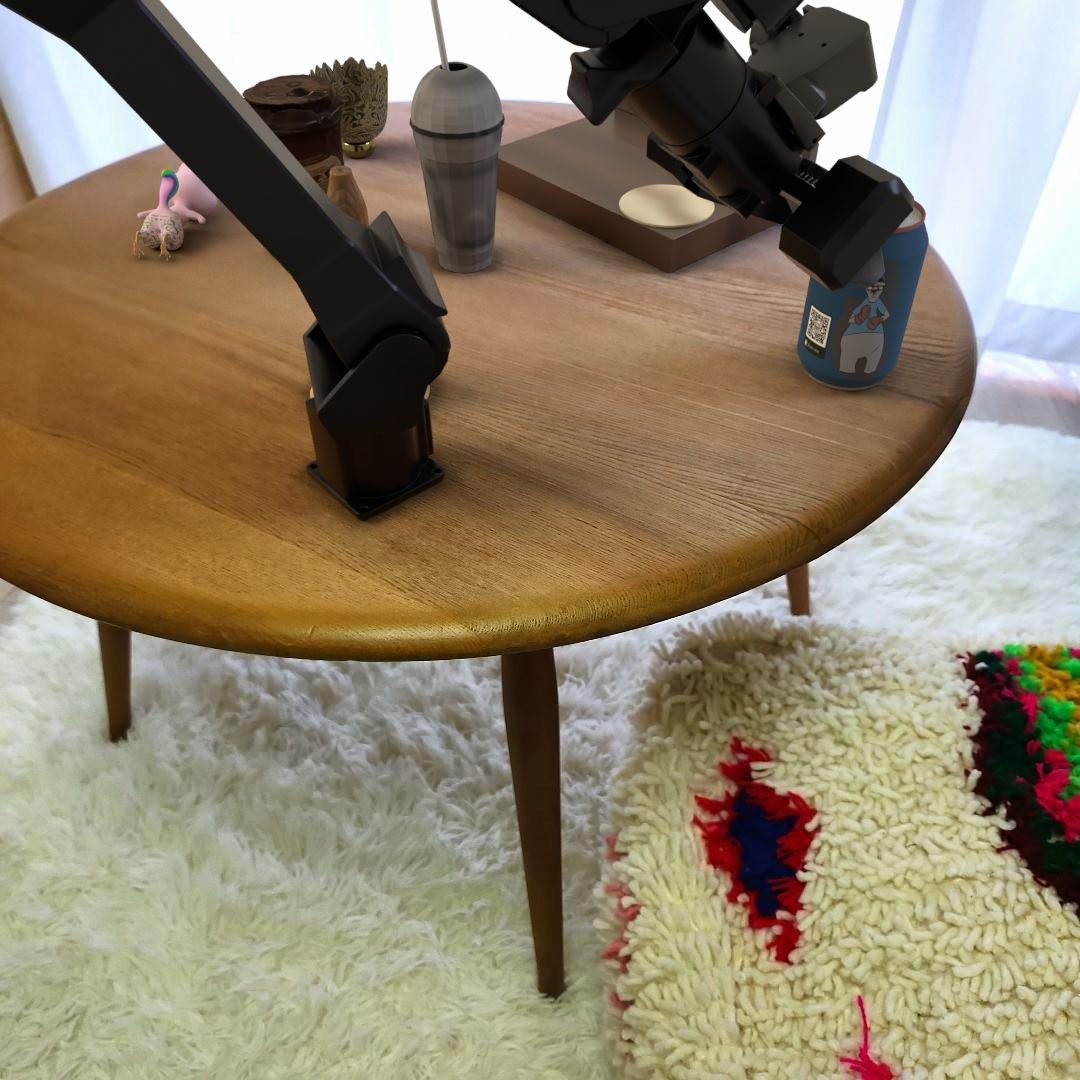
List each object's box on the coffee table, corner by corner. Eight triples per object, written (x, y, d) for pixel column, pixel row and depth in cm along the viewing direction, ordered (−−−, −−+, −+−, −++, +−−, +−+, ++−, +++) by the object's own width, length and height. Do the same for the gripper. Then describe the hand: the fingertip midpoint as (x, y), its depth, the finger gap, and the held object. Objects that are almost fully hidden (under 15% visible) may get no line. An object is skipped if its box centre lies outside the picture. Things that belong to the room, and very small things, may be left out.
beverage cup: (498, 284, 83) (487, 16, 69) (411, 276, 84) (384, 10, 70) (517, 243, 88) (511, -14, 74) (435, 236, 89) (415, -18, 76)
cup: (411, 148, 103) (403, 64, 98) (364, 173, 99) (353, 88, 94) (354, 133, 106) (343, 52, 101) (306, 157, 102) (292, 73, 96)
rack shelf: (669, 273, 84) (675, 203, 80) (485, 182, 97) (482, 118, 93) (807, 209, 93) (819, 143, 88) (621, 134, 106) (624, 73, 102)
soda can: (847, 333, 77) (882, 177, 69) (914, 378, 72) (960, 217, 64) (773, 358, 74) (801, 199, 66) (838, 406, 70) (876, 242, 62)
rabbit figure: (192, 276, 87) (254, 176, 96) (169, 215, 82) (236, 116, 91) (124, 270, 88) (191, 172, 97) (97, 209, 83) (171, 112, 92)
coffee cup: (373, 257, 86) (353, 98, 77) (275, 275, 84) (242, 114, 75) (348, 215, 92) (327, 63, 83) (255, 231, 90) (224, 77, 81)
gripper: (930, 11, 46) (1036, 198, 57) (704, -74, 58) (826, 93, 69) (762, 214, 49) (893, 355, 60) (580, 91, 61) (716, 227, 72)
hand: (829, 246), depth 65 cm, fingers open, 9 cm apart
